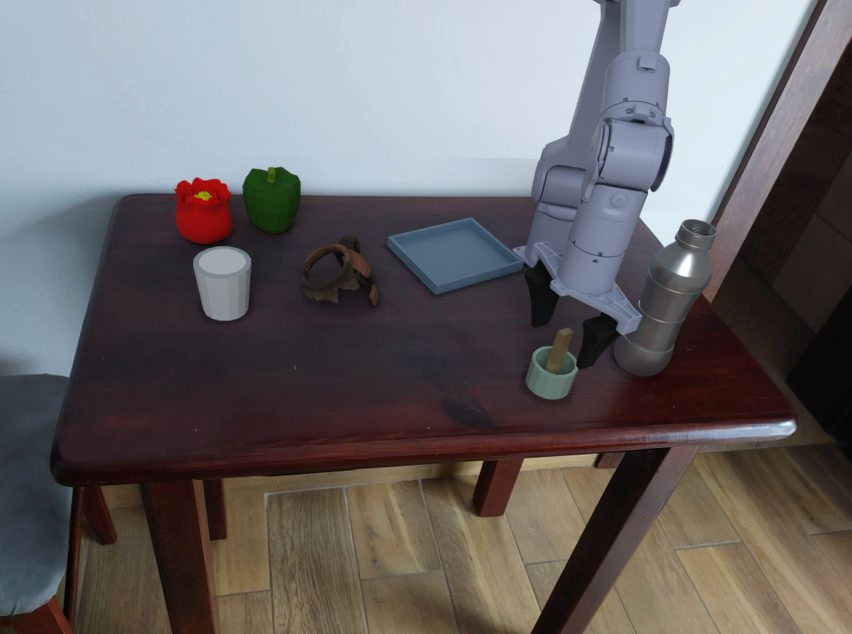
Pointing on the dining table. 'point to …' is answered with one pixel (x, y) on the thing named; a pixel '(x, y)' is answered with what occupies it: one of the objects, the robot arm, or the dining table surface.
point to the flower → (203, 210)
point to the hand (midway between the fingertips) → (561, 344)
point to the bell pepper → (272, 198)
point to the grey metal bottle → (667, 299)
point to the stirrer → (559, 351)
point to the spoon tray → (454, 255)
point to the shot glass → (223, 281)
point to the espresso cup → (550, 375)
